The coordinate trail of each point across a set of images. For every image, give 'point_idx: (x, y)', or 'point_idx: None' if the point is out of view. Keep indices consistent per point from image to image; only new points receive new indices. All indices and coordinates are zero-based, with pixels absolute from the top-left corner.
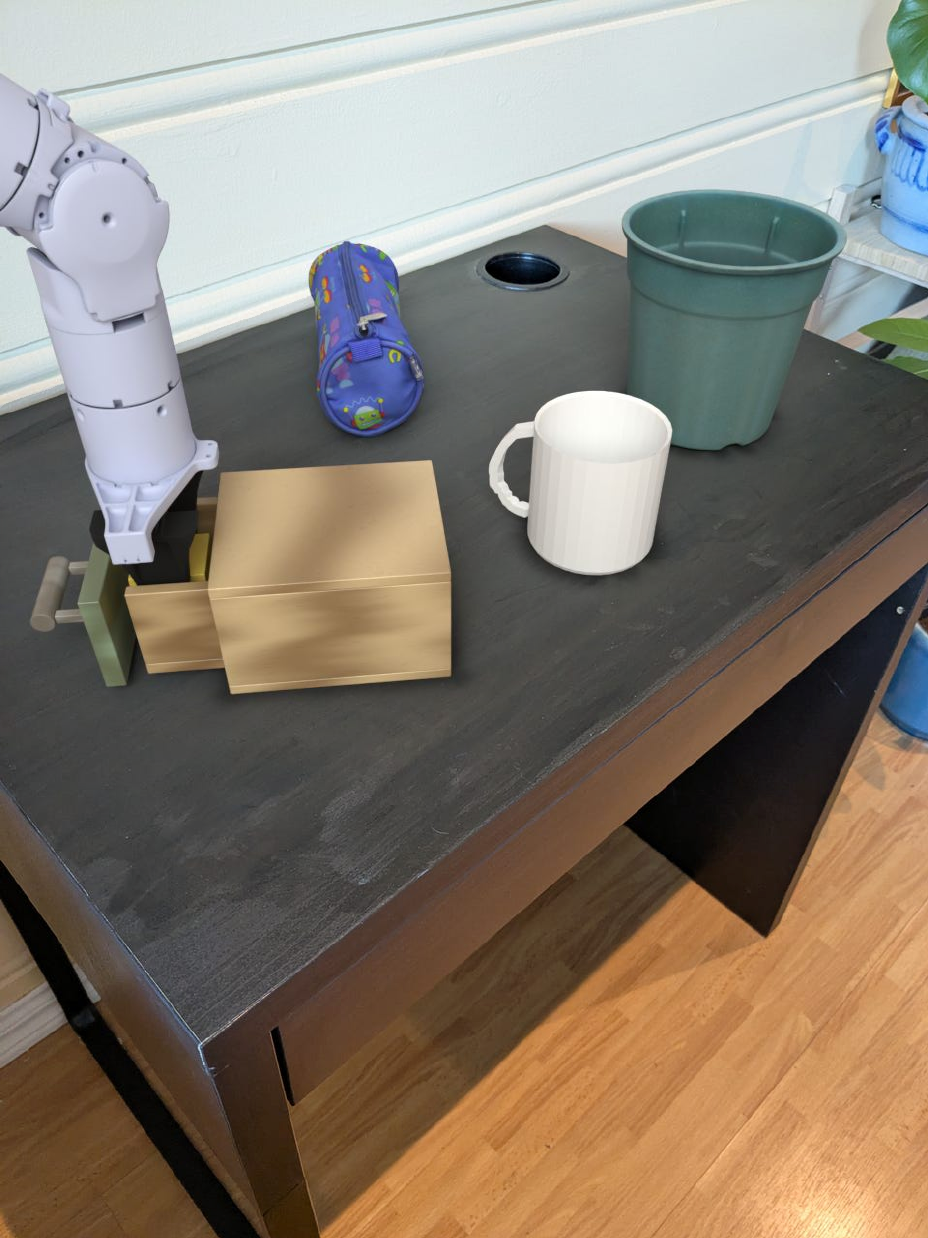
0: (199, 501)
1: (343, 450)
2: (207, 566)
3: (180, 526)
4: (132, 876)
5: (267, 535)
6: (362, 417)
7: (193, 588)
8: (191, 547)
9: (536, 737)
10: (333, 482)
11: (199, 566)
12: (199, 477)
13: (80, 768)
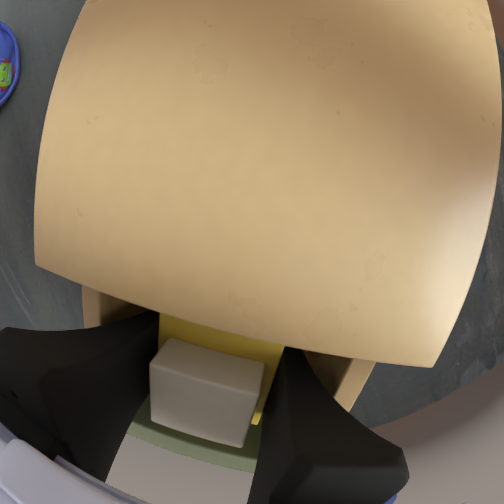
0: (91, 309)
1: (22, 100)
2: None
3: (367, 489)
4: (482, 358)
5: (296, 197)
6: (2, 78)
7: (365, 372)
8: (198, 338)
9: None
10: (121, 17)
11: None
12: (77, 368)
13: (383, 396)
